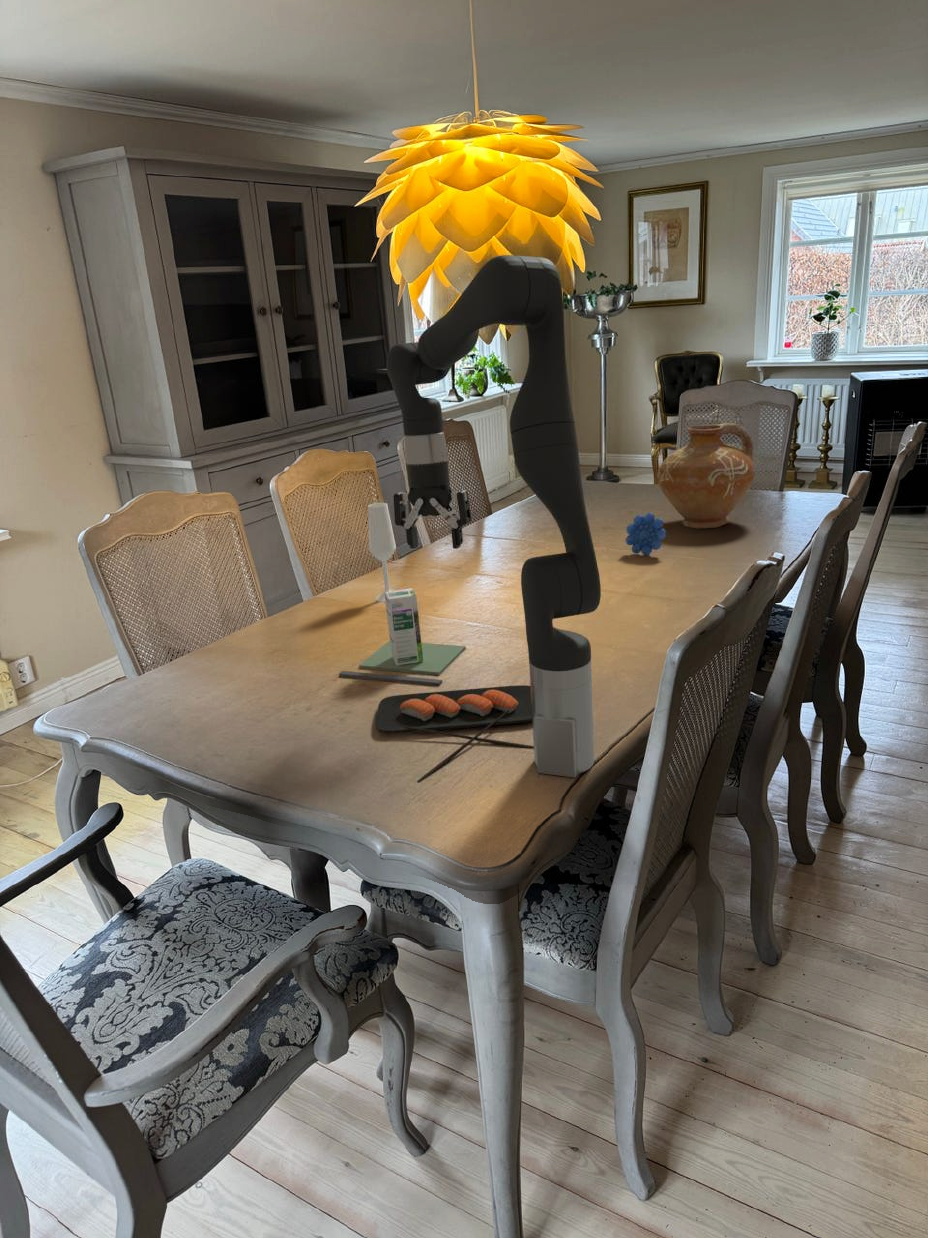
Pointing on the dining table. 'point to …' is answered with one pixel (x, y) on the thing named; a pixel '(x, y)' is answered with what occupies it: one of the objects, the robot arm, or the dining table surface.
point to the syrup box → (404, 626)
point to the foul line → (391, 678)
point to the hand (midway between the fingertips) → (435, 547)
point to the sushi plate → (456, 713)
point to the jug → (708, 475)
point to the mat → (433, 662)
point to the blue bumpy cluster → (645, 534)
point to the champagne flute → (381, 539)
